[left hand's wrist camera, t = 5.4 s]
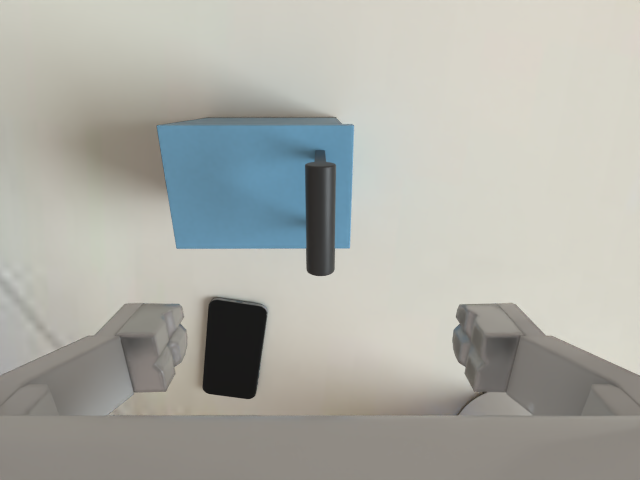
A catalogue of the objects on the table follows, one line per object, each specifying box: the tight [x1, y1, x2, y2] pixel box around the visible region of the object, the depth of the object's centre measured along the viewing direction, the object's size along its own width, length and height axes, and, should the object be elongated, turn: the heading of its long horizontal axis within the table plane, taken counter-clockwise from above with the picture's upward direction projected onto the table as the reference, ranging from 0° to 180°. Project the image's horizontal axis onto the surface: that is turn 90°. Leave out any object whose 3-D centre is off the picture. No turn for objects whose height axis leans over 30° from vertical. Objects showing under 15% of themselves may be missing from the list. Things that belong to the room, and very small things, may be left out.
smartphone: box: [203, 298, 268, 399], centre depth 46 cm, size 7×1×15 cm
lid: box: [157, 124, 354, 276], centre depth 23 cm, size 14×9×9 cm
